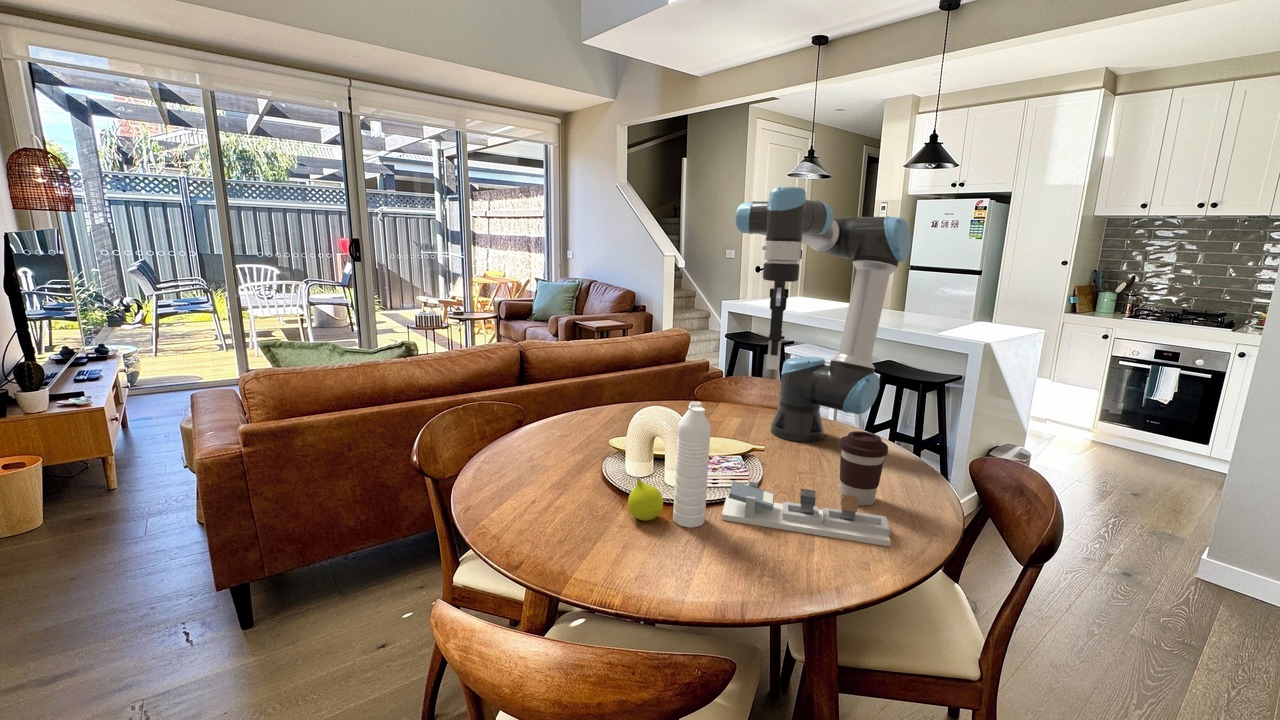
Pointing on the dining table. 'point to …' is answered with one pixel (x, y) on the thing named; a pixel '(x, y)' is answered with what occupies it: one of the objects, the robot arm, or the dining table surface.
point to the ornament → (645, 501)
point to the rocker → (752, 495)
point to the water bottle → (691, 467)
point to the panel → (809, 520)
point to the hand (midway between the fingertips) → (772, 368)
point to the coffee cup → (861, 465)
